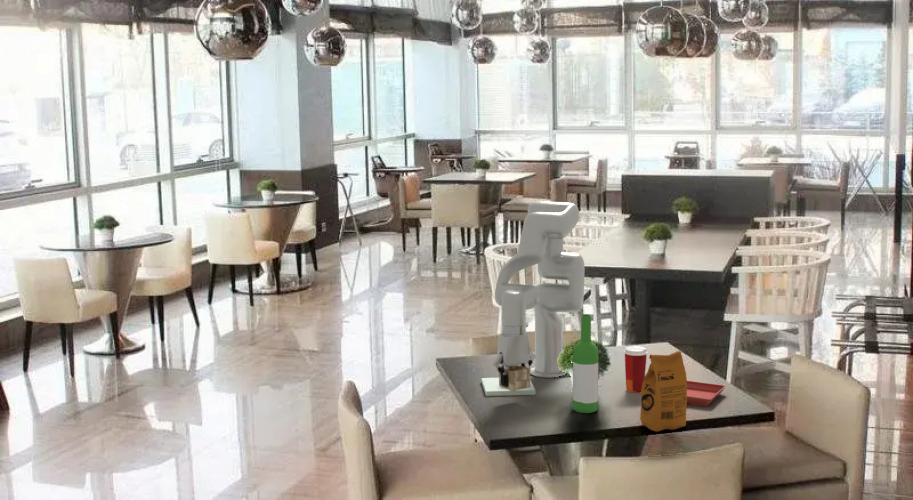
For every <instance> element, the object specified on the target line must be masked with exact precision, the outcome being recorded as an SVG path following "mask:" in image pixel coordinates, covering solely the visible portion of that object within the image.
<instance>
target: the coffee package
mask: <svg viewBox="0 0 913 500" xmlns="http://www.w3.org/2000/svg"><path fill="white" fill-rule="evenodd" d="M648 358H649V360H650V364H649V365H648V369H647V372H646V373H645V378H644V381H643V383H642V389H641V392H640V394H641V395H640V415H639V420H640V422H641V425H642V426H644V427H646V428H647V429H649V430H650V431H654V432H661V431H664V430H672V431H673V430H677V429H680V428H682V427H686V426H687V425H686V424H687V405H688V404H687V381H688V380H687V372H686V367H685V365H684V358H683V355H682V351H681V350H677V351H674V352H673V353H671V354H664V355H663V354H649V357H648Z"/></svg>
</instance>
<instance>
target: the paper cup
mask: <svg viewBox="0 0 913 500" xmlns="http://www.w3.org/2000/svg"><path fill="white" fill-rule="evenodd" d="M623 353H624V367H625V369H624V370H625V387H626V388H625V389H626V391H627V392H629V393H634V394H635V393H636V394H637V393H639V394H641V389H642V383H643V381H644V378H645V375H646V368H647V355H648V351H647V348H646V347H644V346H638V345H634V346H627V347H625V348H624V351H623Z"/></svg>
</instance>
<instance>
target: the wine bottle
mask: <svg viewBox="0 0 913 500" xmlns="http://www.w3.org/2000/svg"><path fill="white" fill-rule="evenodd" d="M580 322H581V324H580V326H581V327H580V329H581V330H580V341H578V342H577V343H576V345H574V348H573V353H572V356H573V357H572V363H573V368H572V409H573V411H575V412H576V413H580V414H591V413H595V412H596V411H597V410H598V409H599V408H598V406H599V403H598V402H599V349H598V347H597V345H596V344H595V343H594V342H593V341H592V315H591V314H590V313H589V314H588V313H584V314H581V321H580Z"/></svg>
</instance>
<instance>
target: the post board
mask: <svg viewBox="0 0 913 500" xmlns="http://www.w3.org/2000/svg"><path fill="white" fill-rule="evenodd" d="M481 384H482V388H483V391H484V394H485V396H486V397H494V396H495V397H498V396H499V397H501V396H502V397H504V396H534V395H536V389H535V386H534V384H533V382H532V381H531V379H530V387H529V388H524V389H520V390H516V391H510V390H508V389H505V388H503V387H501V386H499V377H482V378H481Z"/></svg>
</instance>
